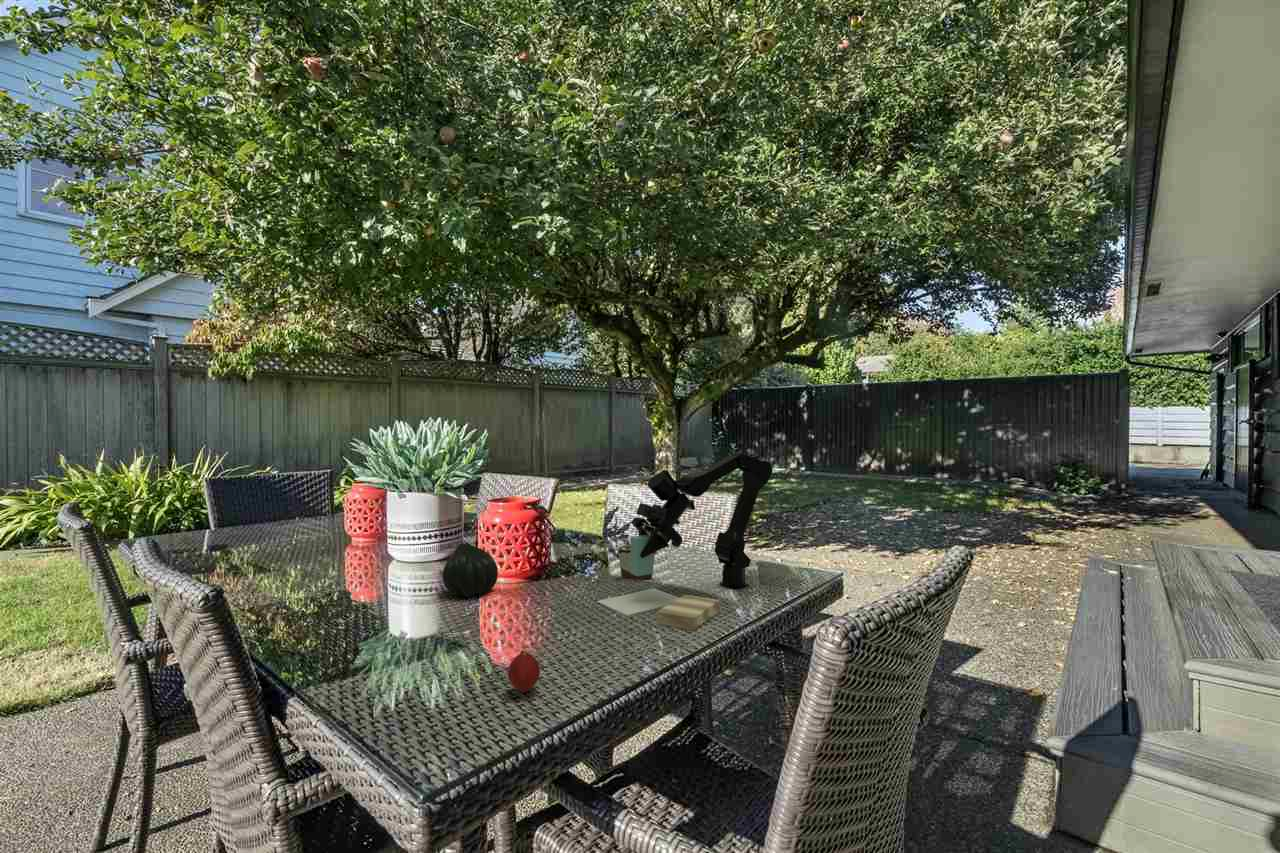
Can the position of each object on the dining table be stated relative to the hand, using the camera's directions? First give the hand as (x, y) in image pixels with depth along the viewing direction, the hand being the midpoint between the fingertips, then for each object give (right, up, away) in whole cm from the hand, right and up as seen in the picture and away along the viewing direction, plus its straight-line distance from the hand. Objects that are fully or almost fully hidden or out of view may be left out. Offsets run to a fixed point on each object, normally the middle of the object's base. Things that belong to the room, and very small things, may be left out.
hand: (637, 555), depth 165 cm
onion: (-21, -14, -52) cm, 58 cm away
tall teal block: (+1, -5, +1) cm, 5 cm away
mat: (+1, -13, +1) cm, 13 cm away
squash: (-48, -13, +9) cm, 50 cm away
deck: (+13, -13, -11) cm, 22 cm away
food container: (0, -13, +25) cm, 28 cm away
